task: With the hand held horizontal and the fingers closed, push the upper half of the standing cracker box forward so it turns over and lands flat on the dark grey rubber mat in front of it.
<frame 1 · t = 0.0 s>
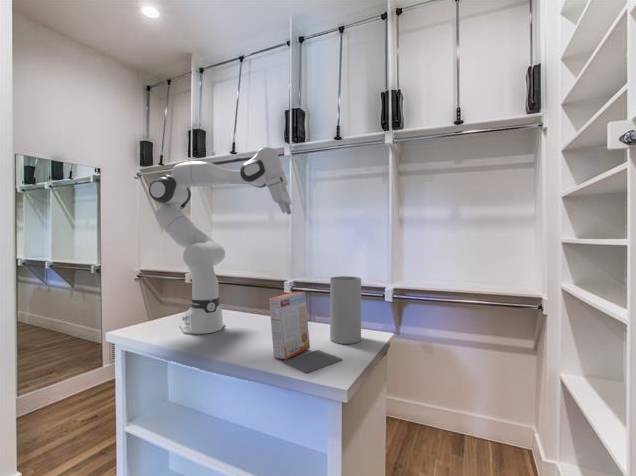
hand: (287, 213, 140), 52 cm above the table, tool tilted 20°, fingers open, 8 cm apart
cracker box: (292, 353, 115), on the table
mat: (313, 361, 109), on the table
cylinder vase: (345, 340, 132), on the table
phone stand: (286, 333, 141), on the table
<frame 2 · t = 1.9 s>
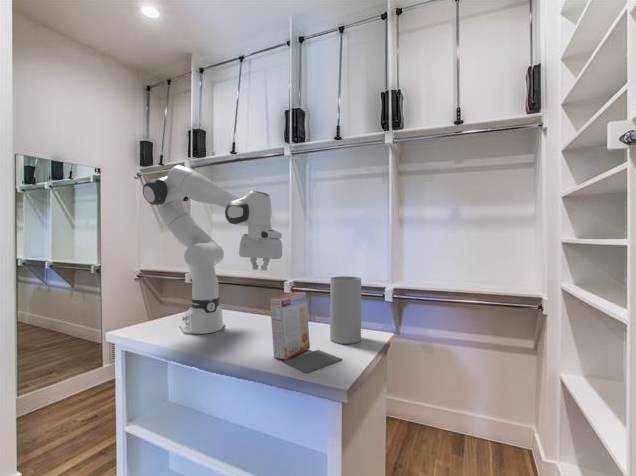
hand: (259, 269, 124), 29 cm above the table, tool pointing down, fingers open, 3 cm apart
cracker box: (292, 353, 115), on the table, touching mat
everything else where it was.
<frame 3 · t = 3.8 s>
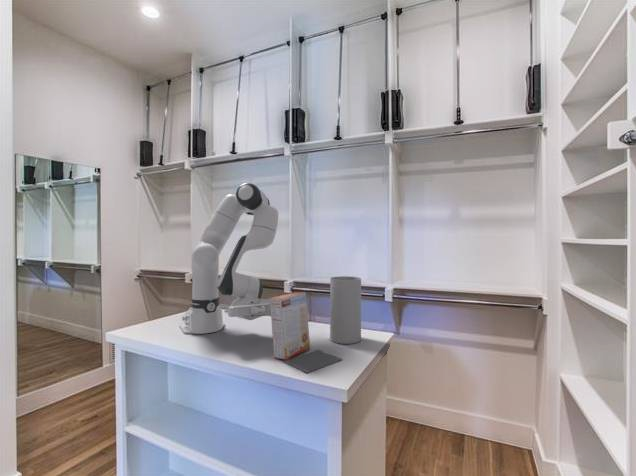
hand: (261, 310, 117), 15 cm above the table, tool horizontal, fingers closed
nothing on the table moved.
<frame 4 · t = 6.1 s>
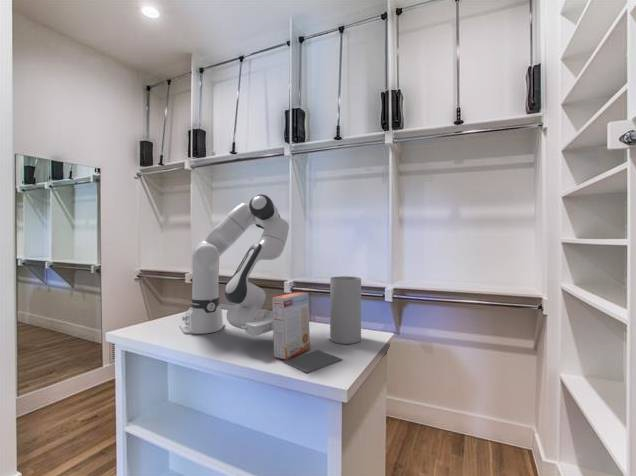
hand: (285, 326, 117), 9 cm above the table, tool horizontal, fingers closed
nothing on the table moved.
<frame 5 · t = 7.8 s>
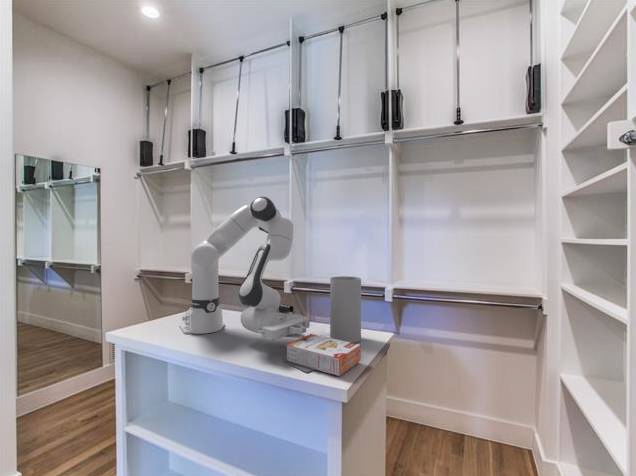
hand: (303, 330, 112), 9 cm above the table, tool horizontal, fingers closed
cracker box: (298, 346, 113), point 4 cm above the table, touching mat
everything else where it was.
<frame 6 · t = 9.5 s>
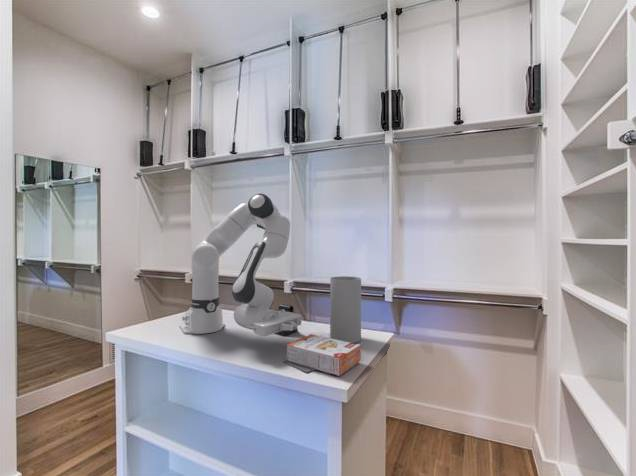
hand: (294, 327, 114), 10 cm above the table, tool horizontal, fingers closed
nothing on the table moved.
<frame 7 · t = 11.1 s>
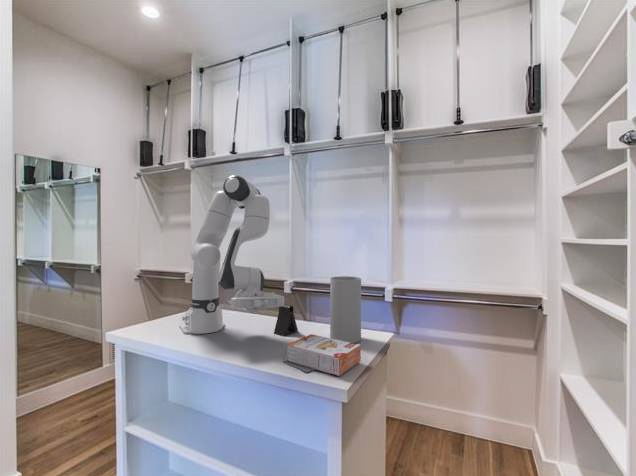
hand: (264, 303, 116), 18 cm above the table, tool horizontal, fingers closed
nothing on the table moved.
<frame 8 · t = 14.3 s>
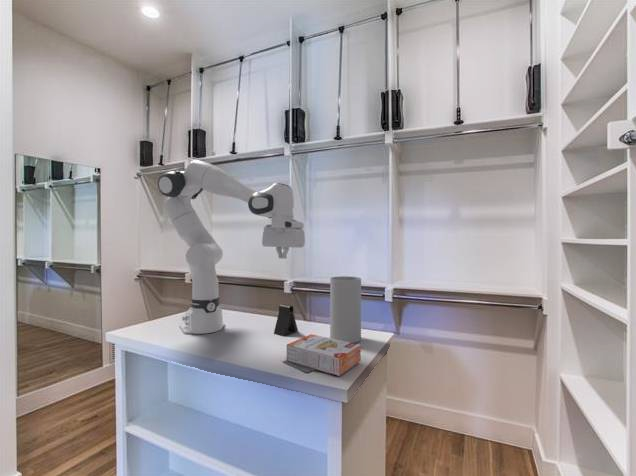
hand: (282, 258, 130), 33 cm above the table, tool pointing down, fingers closed
nothing on the table moved.
at the end: cracker box tilted 91°; cracker box inside the target area (10.2 cm from its centre), point 3.5 cm above the table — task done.
